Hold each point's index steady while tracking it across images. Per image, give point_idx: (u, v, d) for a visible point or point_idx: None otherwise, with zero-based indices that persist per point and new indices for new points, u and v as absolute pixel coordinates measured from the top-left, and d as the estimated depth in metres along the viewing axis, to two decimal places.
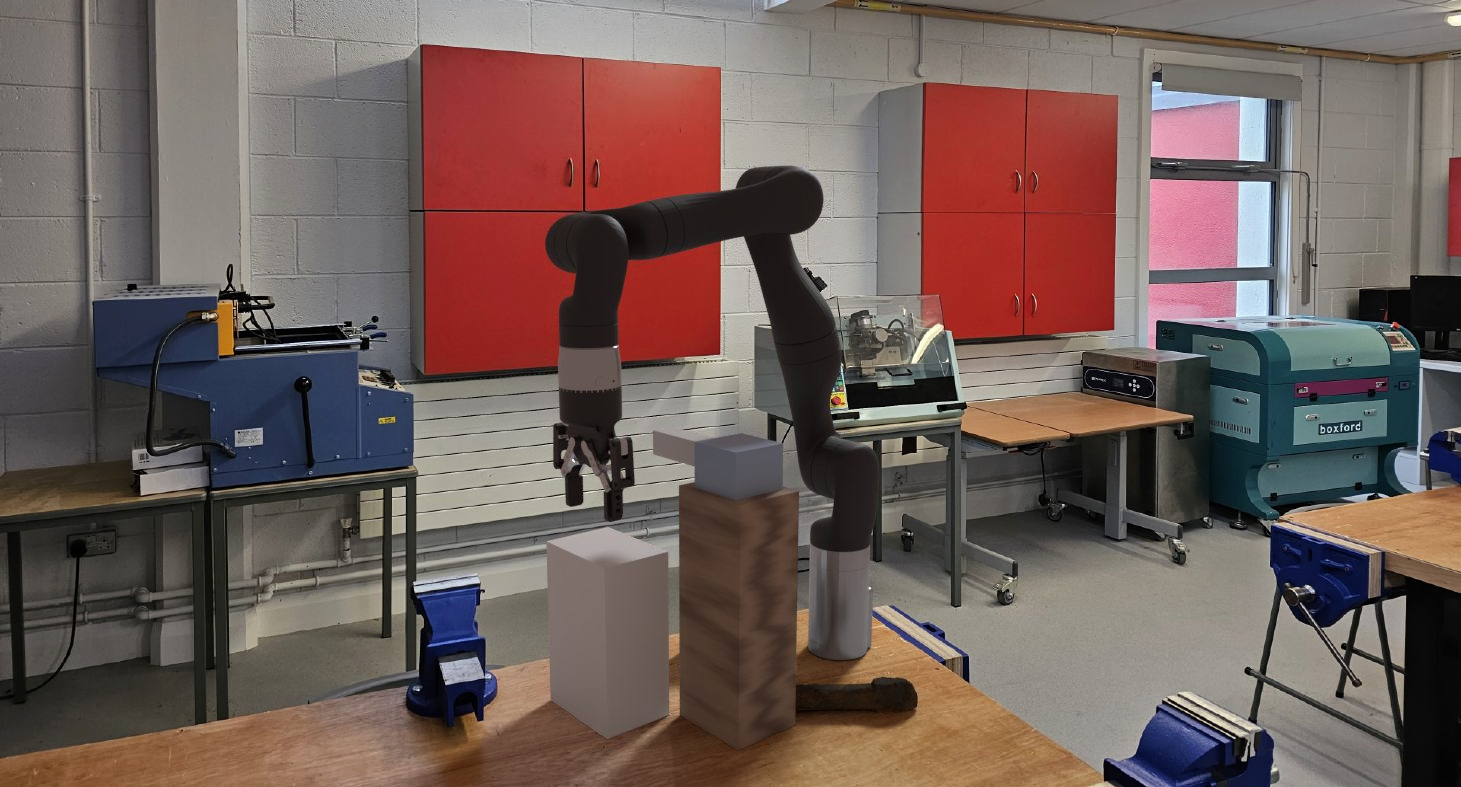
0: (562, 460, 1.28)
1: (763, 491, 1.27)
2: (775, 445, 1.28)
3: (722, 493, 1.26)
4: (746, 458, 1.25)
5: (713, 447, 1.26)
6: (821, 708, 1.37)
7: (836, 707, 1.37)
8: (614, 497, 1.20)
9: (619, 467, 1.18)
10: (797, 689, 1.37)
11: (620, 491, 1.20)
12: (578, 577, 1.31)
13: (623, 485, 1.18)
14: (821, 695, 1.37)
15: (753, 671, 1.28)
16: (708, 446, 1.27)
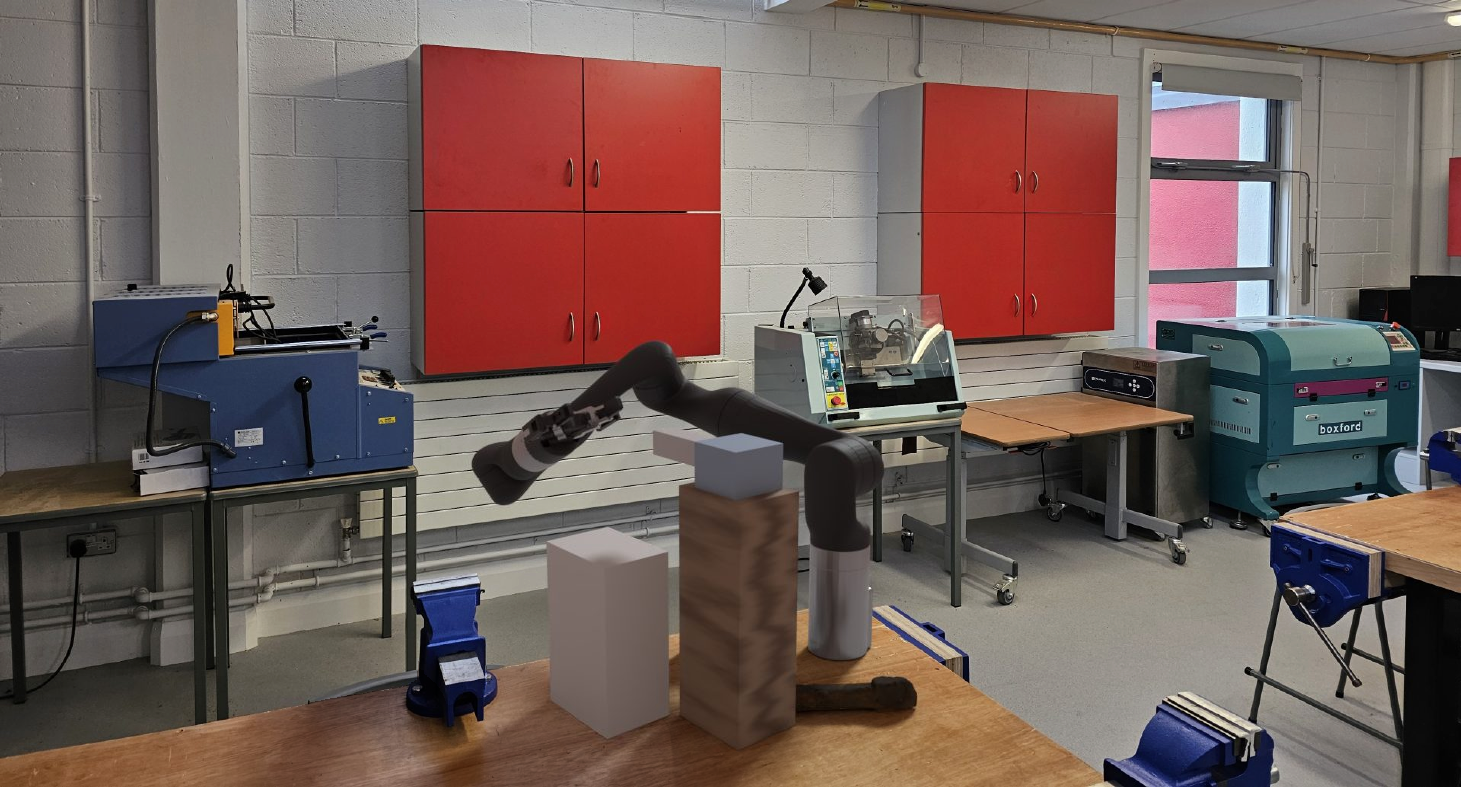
0: None
1: (763, 491, 1.27)
2: (775, 445, 1.28)
3: (722, 493, 1.26)
4: (746, 458, 1.25)
5: (713, 447, 1.26)
6: (821, 708, 1.37)
7: (836, 707, 1.37)
8: (555, 420, 1.46)
9: (532, 434, 1.47)
10: (797, 689, 1.37)
11: (550, 417, 1.46)
12: (578, 577, 1.31)
13: (538, 426, 1.46)
14: (822, 695, 1.36)
15: (753, 671, 1.28)
16: (708, 446, 1.27)
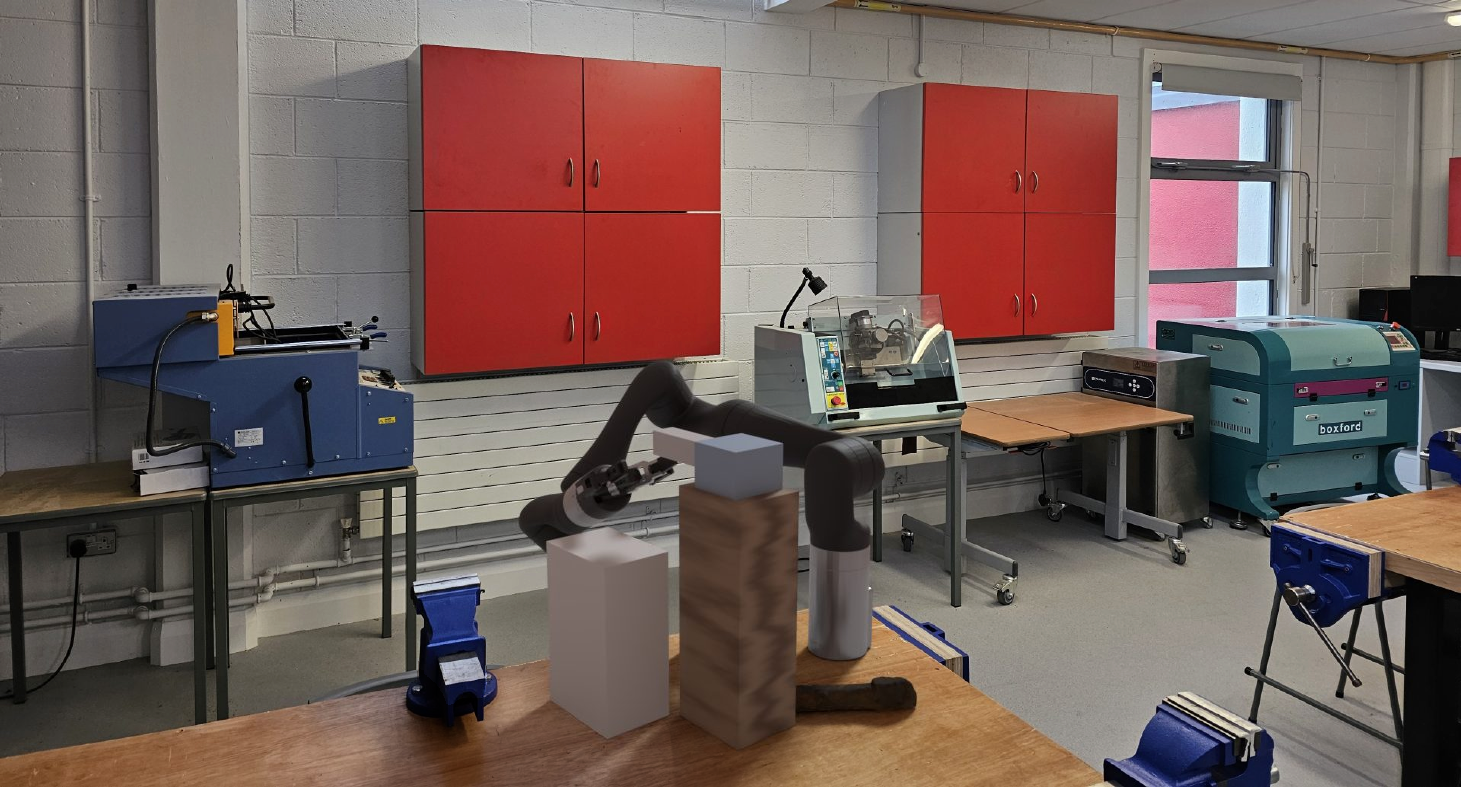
0: None
1: (763, 491, 1.27)
2: (775, 445, 1.28)
3: (722, 493, 1.26)
4: (746, 458, 1.25)
5: (713, 447, 1.26)
6: (821, 709, 1.37)
7: (836, 707, 1.37)
8: (609, 477, 1.43)
9: (586, 491, 1.45)
10: (797, 690, 1.37)
11: (605, 474, 1.43)
12: (578, 577, 1.31)
13: (592, 483, 1.43)
14: (822, 696, 1.36)
15: (753, 671, 1.28)
16: (708, 446, 1.27)
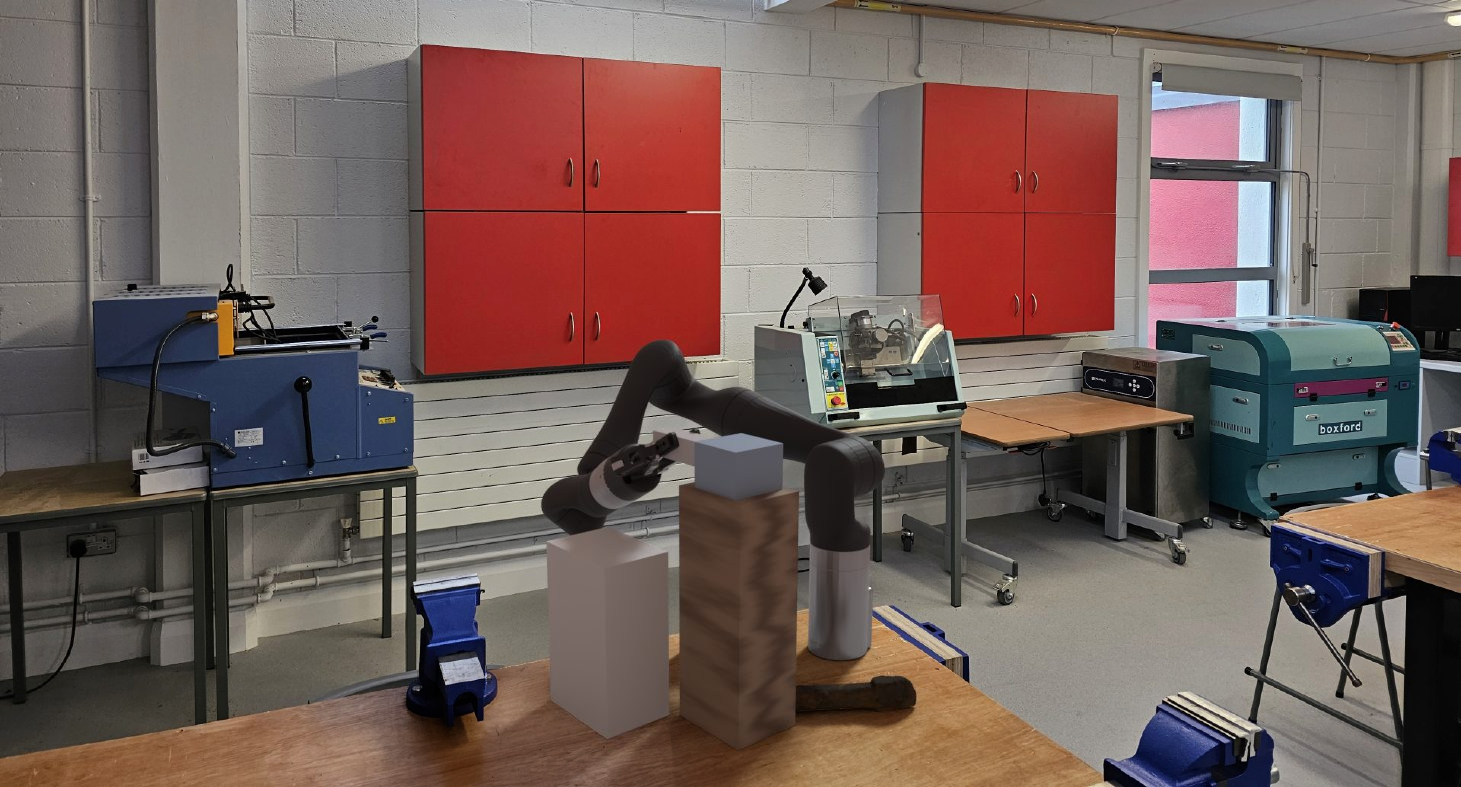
0: None
1: (763, 491, 1.27)
2: (775, 445, 1.28)
3: (722, 493, 1.26)
4: (746, 458, 1.25)
5: (713, 447, 1.26)
6: (821, 708, 1.37)
7: (836, 707, 1.37)
8: (658, 451, 1.37)
9: (630, 465, 1.38)
10: (797, 690, 1.37)
11: (653, 447, 1.38)
12: (578, 577, 1.31)
13: (641, 456, 1.37)
14: (822, 695, 1.36)
15: (753, 671, 1.28)
16: (708, 446, 1.27)
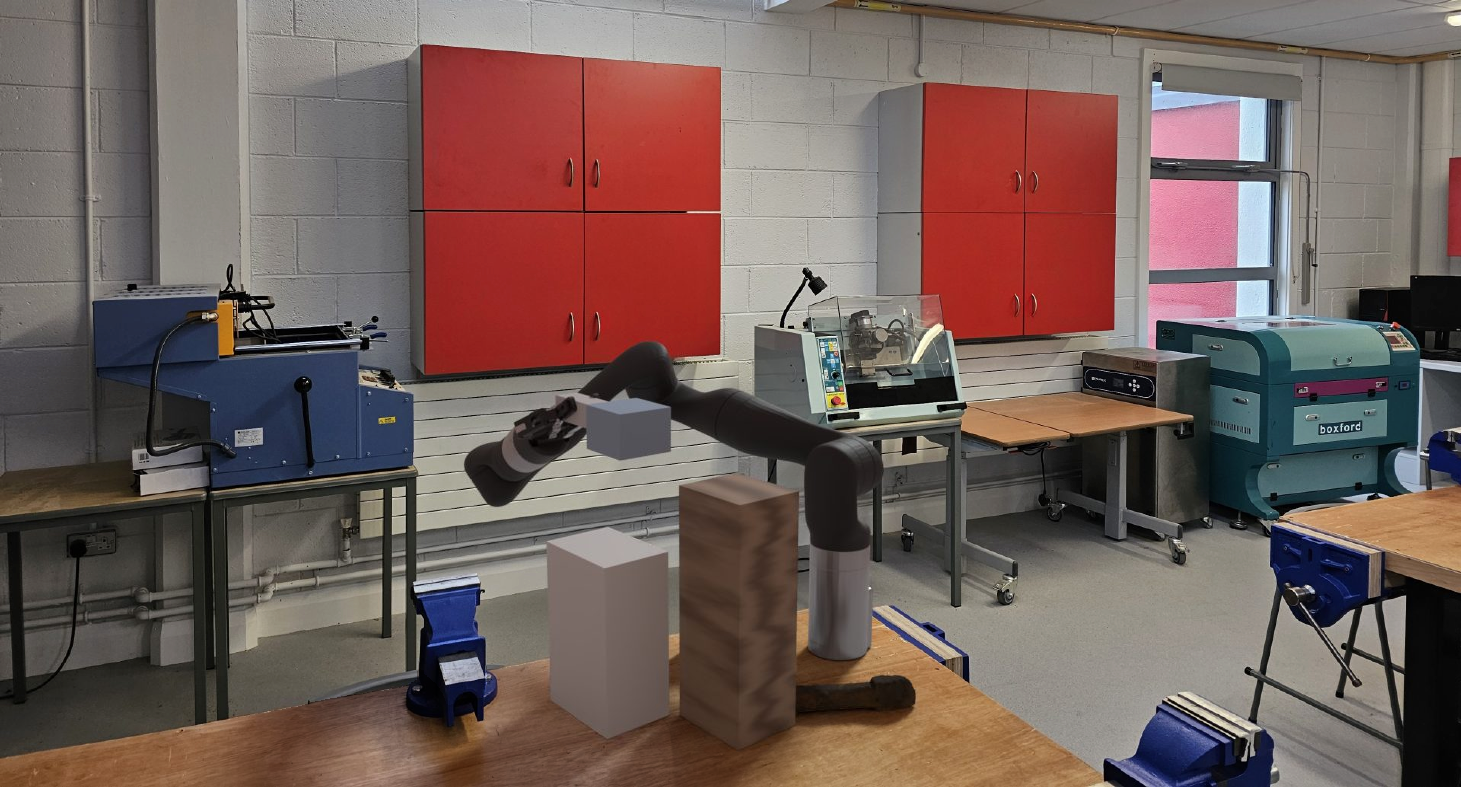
0: None
1: (650, 453, 1.32)
2: (662, 408, 1.32)
3: (609, 454, 1.30)
4: (631, 420, 1.29)
5: (601, 410, 1.31)
6: (822, 708, 1.37)
7: (836, 707, 1.37)
8: (558, 414, 1.42)
9: (531, 428, 1.43)
10: (797, 690, 1.37)
11: (554, 411, 1.42)
12: (578, 577, 1.31)
13: (541, 420, 1.42)
14: (822, 695, 1.36)
15: (753, 671, 1.28)
16: (597, 409, 1.32)
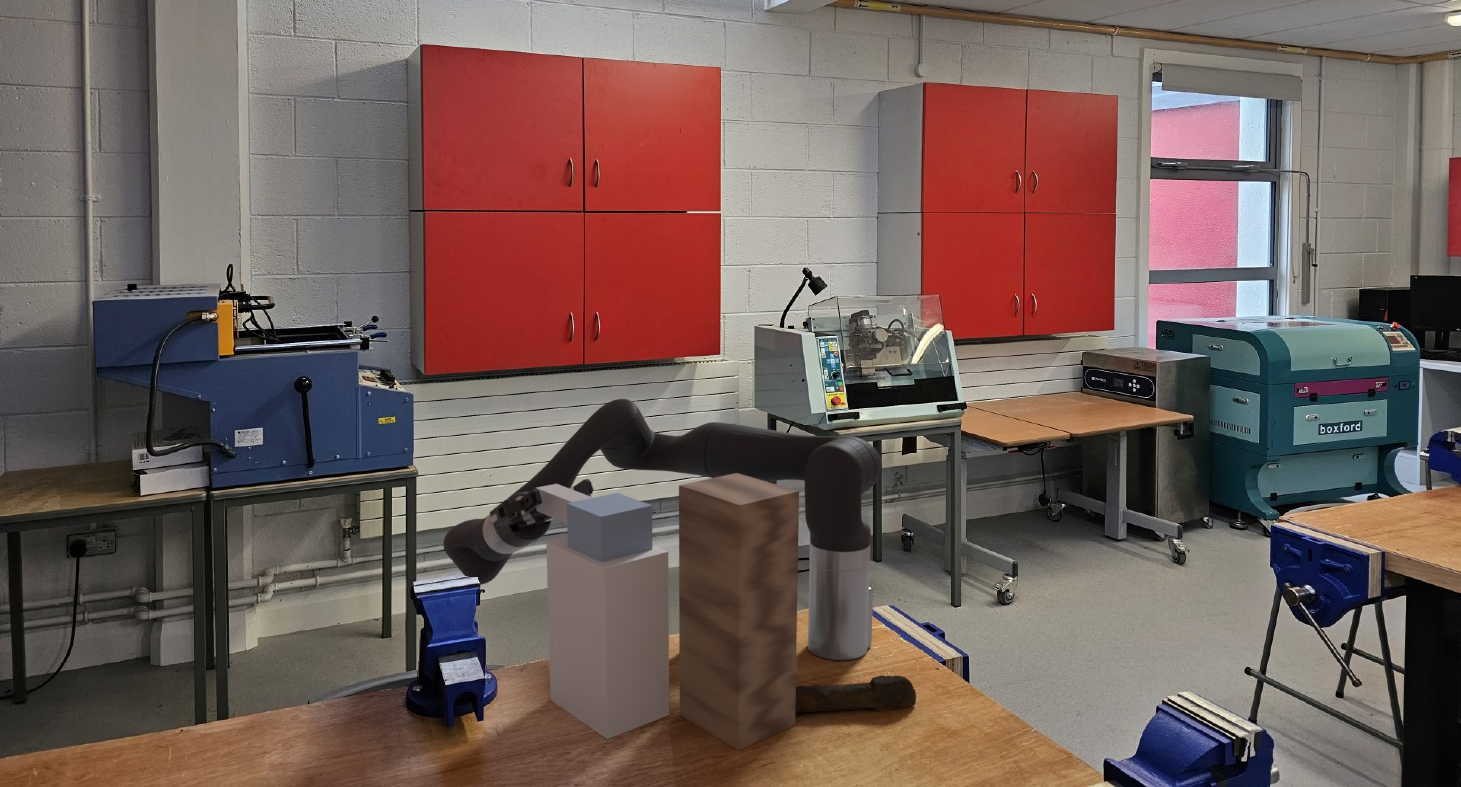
0: None
1: (631, 552, 1.31)
2: (643, 507, 1.32)
3: (590, 555, 1.30)
4: (612, 521, 1.29)
5: (582, 510, 1.31)
6: (822, 709, 1.37)
7: (837, 708, 1.37)
8: (523, 507, 1.40)
9: (500, 520, 1.42)
10: (798, 691, 1.37)
11: (518, 503, 1.41)
12: (578, 577, 1.31)
13: (506, 512, 1.41)
14: (822, 696, 1.36)
15: (753, 671, 1.28)
16: (578, 509, 1.31)
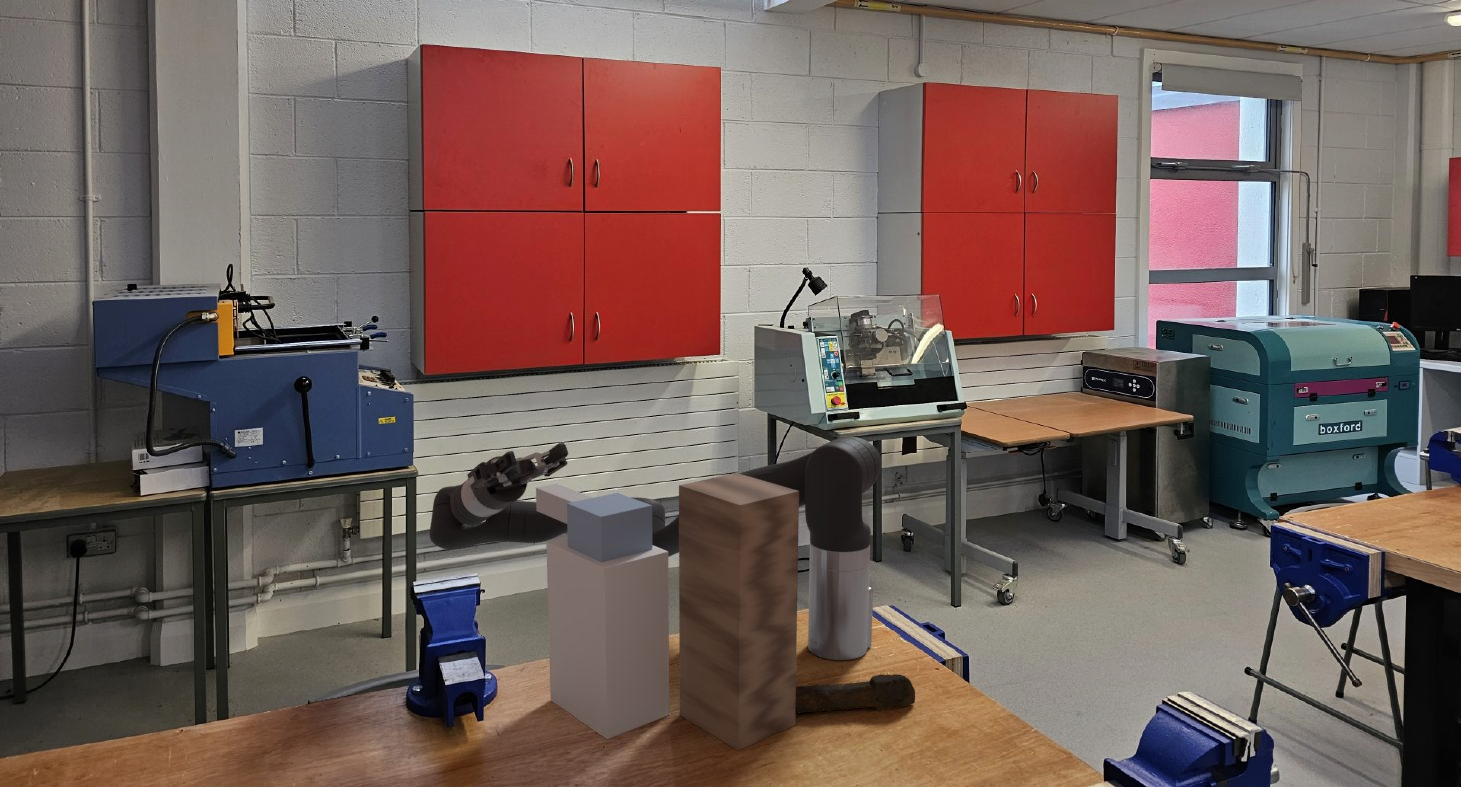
0: (558, 462, 1.55)
1: (631, 552, 1.31)
2: (643, 507, 1.32)
3: (590, 555, 1.30)
4: (612, 521, 1.29)
5: (582, 510, 1.31)
6: (822, 709, 1.37)
7: (837, 707, 1.37)
8: (498, 468, 1.46)
9: (477, 482, 1.48)
10: (798, 691, 1.37)
11: (494, 465, 1.47)
12: (578, 577, 1.31)
13: (482, 474, 1.46)
14: (823, 696, 1.36)
15: (753, 671, 1.28)
16: (578, 509, 1.31)
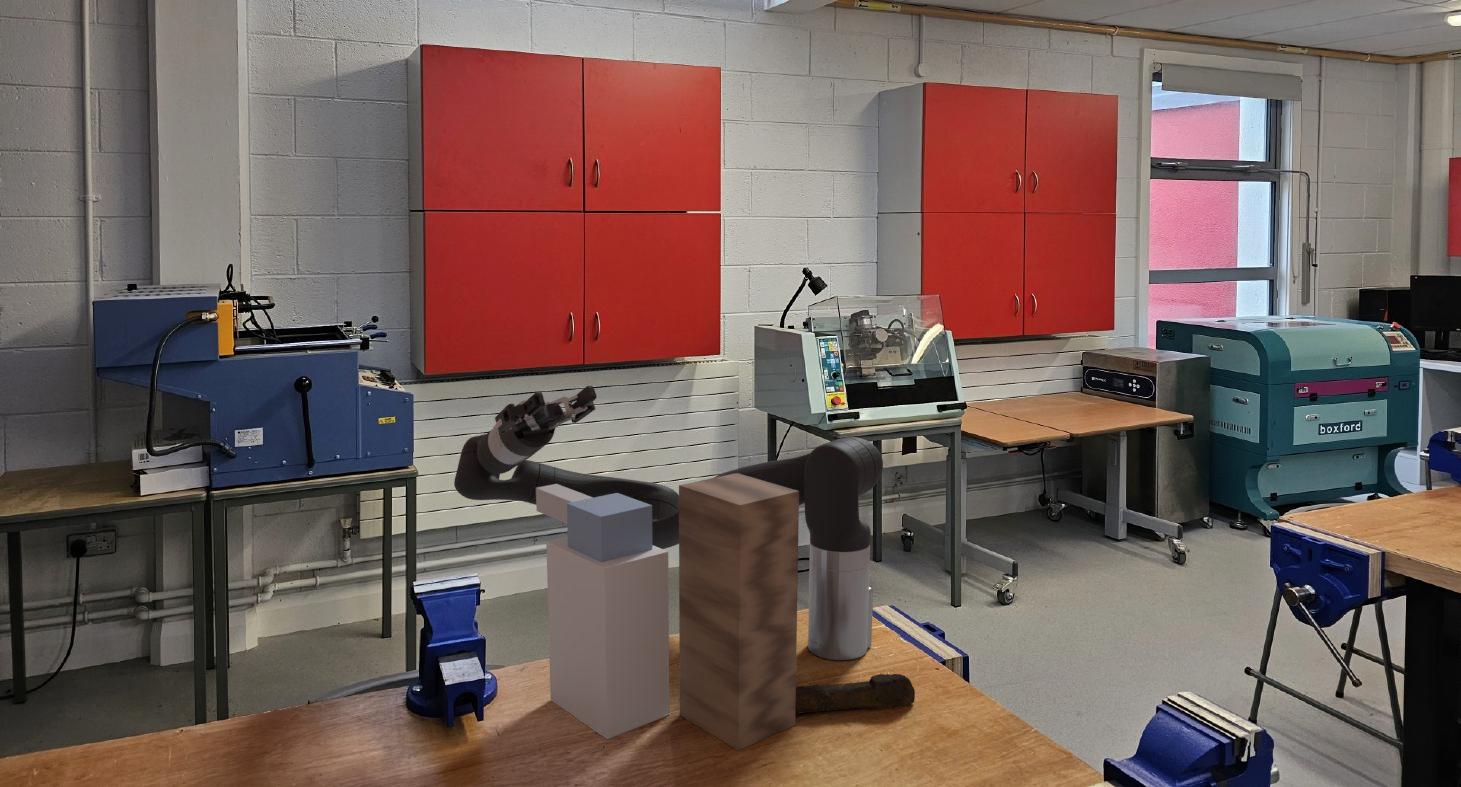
0: (586, 406, 1.54)
1: (631, 552, 1.31)
2: (643, 507, 1.32)
3: (590, 555, 1.30)
4: (612, 521, 1.29)
5: (582, 510, 1.31)
6: (822, 709, 1.37)
7: (837, 707, 1.37)
8: (526, 410, 1.44)
9: (505, 424, 1.46)
10: (798, 692, 1.37)
11: (522, 406, 1.45)
12: (578, 577, 1.31)
13: (510, 415, 1.45)
14: (823, 696, 1.36)
15: (753, 671, 1.28)
16: (578, 509, 1.31)
